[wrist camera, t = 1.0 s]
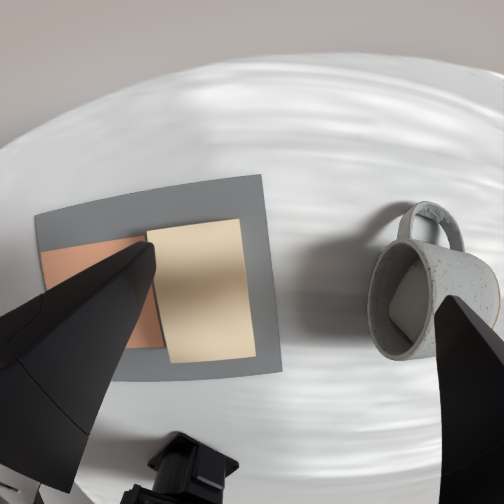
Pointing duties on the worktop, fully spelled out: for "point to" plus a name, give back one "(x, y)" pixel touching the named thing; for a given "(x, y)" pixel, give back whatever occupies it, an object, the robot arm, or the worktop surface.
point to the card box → (203, 292)
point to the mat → (149, 323)
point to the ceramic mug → (424, 287)
